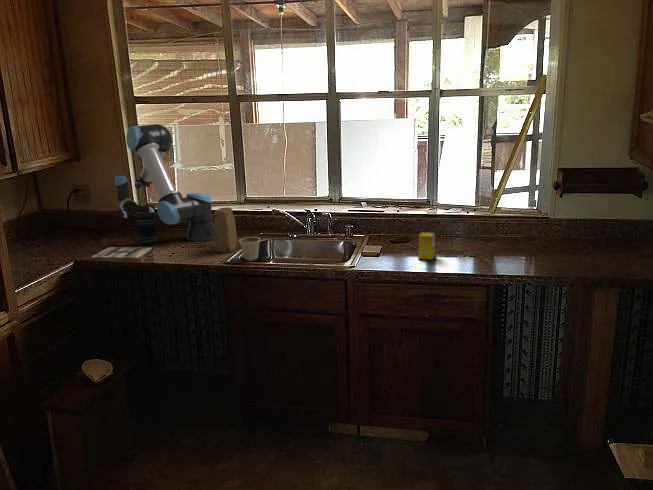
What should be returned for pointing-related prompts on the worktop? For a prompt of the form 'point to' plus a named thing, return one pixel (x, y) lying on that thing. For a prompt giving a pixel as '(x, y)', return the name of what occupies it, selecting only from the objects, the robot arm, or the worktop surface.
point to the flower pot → (250, 247)
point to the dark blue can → (147, 229)
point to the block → (225, 230)
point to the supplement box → (426, 246)
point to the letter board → (122, 252)
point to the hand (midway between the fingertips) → (139, 213)
